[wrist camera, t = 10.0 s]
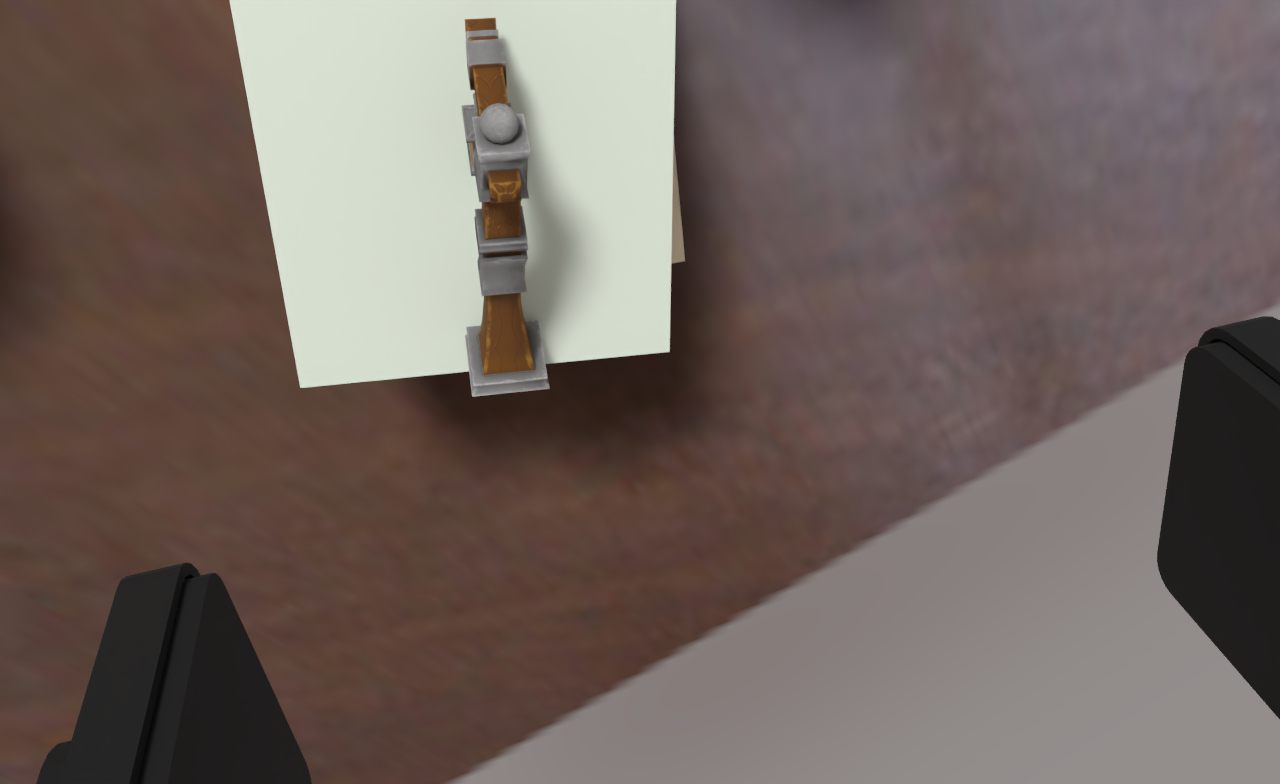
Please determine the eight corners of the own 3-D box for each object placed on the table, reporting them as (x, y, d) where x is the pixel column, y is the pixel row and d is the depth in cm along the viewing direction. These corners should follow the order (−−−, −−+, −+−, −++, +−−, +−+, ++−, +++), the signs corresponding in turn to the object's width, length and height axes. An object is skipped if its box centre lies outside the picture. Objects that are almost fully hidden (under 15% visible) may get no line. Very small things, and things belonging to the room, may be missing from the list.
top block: (631, -66, 28) (676, -22, 24) (632, 266, 33) (669, 351, 29) (251, -52, 27) (228, -3, 22) (310, 294, 31) (300, 387, 27)
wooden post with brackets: (525, -23, 22) (555, 138, 20) (527, 250, 29) (550, 396, 26) (432, -19, 22) (451, 145, 20) (456, 255, 29) (472, 404, 26)
